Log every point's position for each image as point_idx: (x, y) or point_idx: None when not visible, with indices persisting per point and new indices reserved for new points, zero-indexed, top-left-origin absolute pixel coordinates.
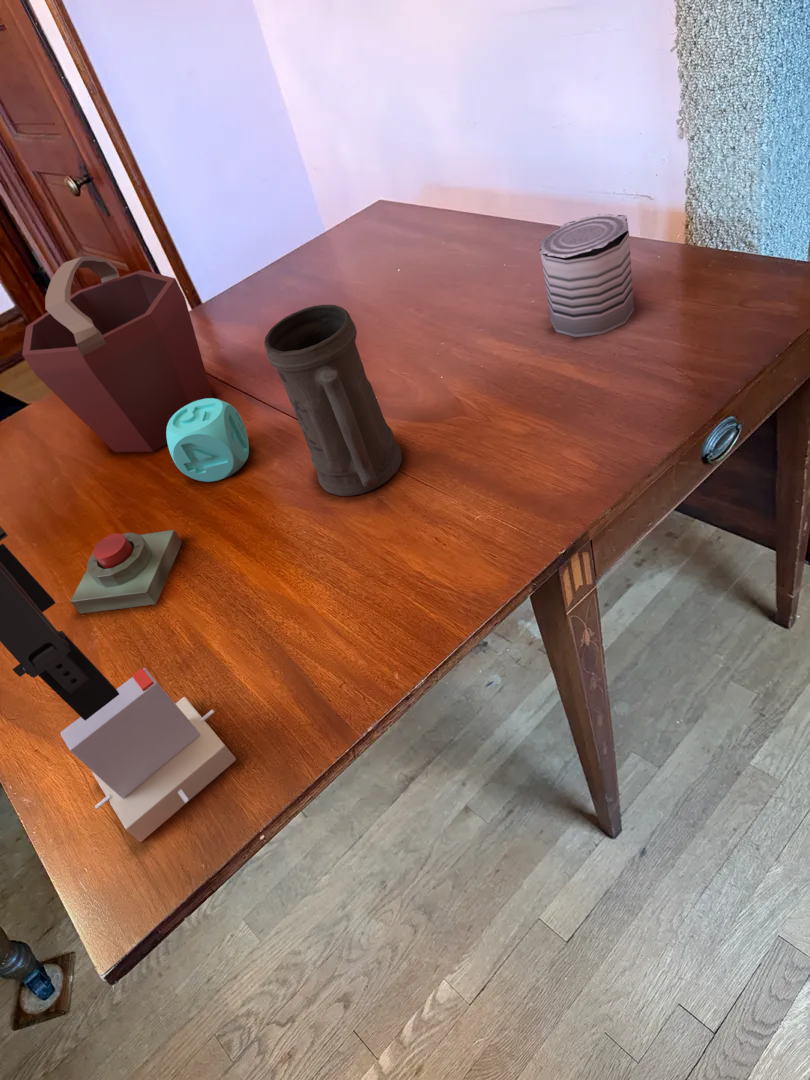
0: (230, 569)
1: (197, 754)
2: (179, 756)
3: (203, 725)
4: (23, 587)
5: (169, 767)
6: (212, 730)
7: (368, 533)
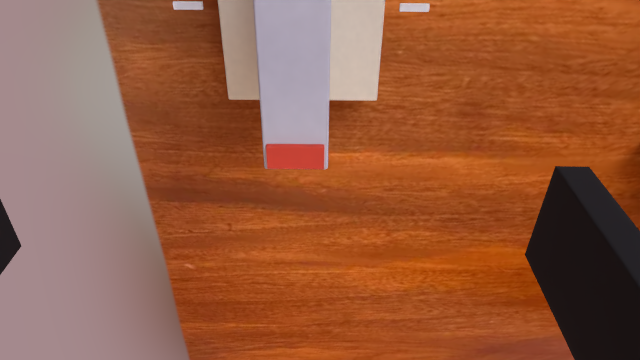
0: None
1: (248, 61)
2: None
3: None
4: (585, 318)
5: None
6: None
7: (403, 352)
